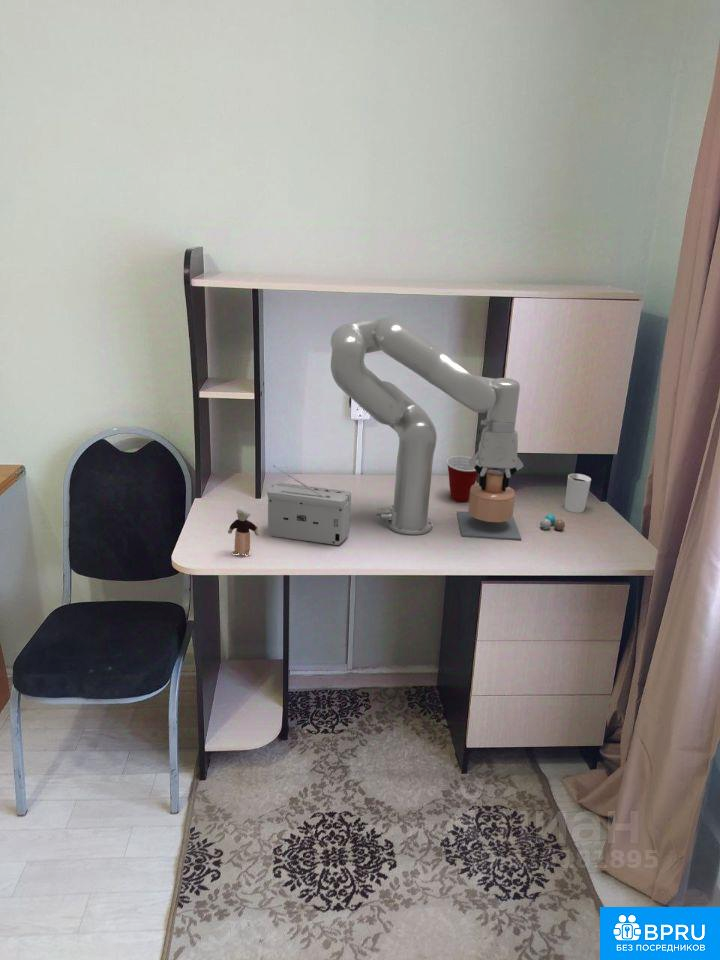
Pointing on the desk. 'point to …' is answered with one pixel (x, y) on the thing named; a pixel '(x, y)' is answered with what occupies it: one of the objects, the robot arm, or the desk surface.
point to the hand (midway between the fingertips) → (493, 488)
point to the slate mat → (487, 528)
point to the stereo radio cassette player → (308, 512)
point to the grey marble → (545, 523)
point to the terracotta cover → (491, 499)
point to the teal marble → (551, 518)
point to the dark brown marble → (559, 524)
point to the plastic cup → (461, 477)
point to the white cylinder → (577, 492)
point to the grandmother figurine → (242, 531)
